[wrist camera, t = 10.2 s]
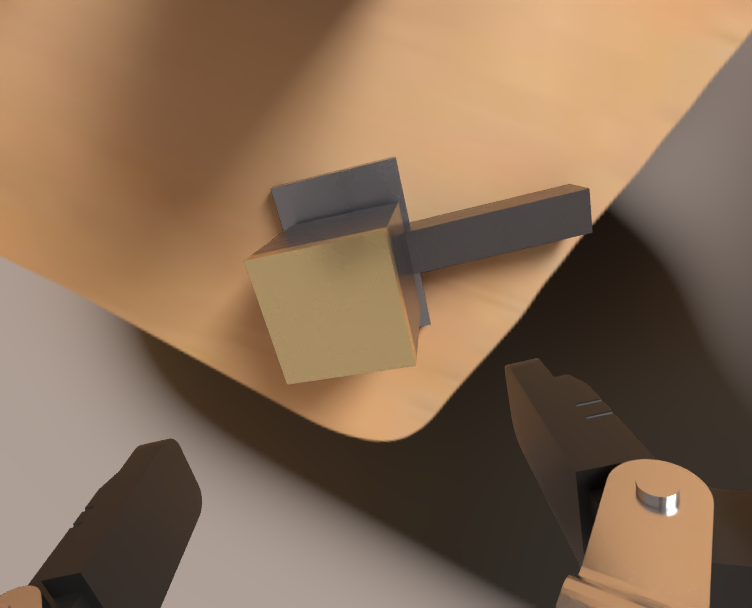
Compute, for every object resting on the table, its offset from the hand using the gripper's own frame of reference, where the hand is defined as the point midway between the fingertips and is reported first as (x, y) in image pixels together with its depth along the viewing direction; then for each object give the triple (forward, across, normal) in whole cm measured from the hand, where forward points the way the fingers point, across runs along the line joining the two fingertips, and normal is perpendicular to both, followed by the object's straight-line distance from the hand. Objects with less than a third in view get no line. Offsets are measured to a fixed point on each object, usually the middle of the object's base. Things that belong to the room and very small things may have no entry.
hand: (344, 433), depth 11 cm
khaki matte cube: (+15, 0, 0) cm, 15 cm away
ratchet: (+17, -5, 0) cm, 18 cm away
